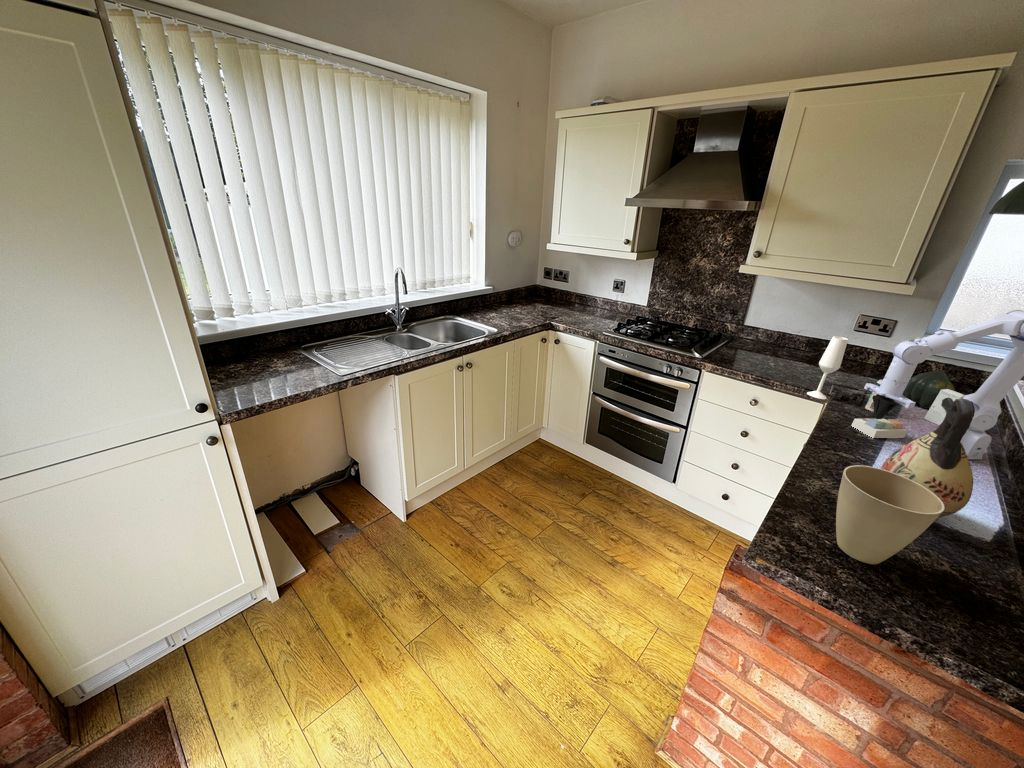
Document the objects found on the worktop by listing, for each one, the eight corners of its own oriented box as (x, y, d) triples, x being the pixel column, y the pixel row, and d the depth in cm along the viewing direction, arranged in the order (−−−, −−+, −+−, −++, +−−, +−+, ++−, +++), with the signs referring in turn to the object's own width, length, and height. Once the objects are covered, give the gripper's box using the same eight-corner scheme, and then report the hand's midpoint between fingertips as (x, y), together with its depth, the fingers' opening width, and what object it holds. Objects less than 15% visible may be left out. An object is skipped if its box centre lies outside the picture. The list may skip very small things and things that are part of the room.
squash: (911, 395, 158) (955, 372, 152) (887, 382, 172) (927, 360, 166) (931, 422, 159) (976, 400, 153) (906, 407, 173) (947, 386, 167)
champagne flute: (806, 390, 169) (828, 334, 159) (825, 395, 166) (850, 338, 156) (807, 395, 163) (830, 337, 154) (827, 400, 160) (852, 341, 151)
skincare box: (923, 418, 151) (939, 389, 147) (930, 418, 153) (947, 388, 148) (943, 427, 146) (960, 396, 141) (951, 426, 147) (968, 395, 143)
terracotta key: (901, 430, 135) (904, 423, 134) (893, 430, 135) (896, 423, 134) (892, 425, 138) (895, 419, 137) (884, 425, 137) (887, 419, 137)
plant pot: (861, 525, 92) (893, 466, 86) (925, 581, 78) (968, 515, 72) (798, 523, 91) (826, 462, 85) (851, 578, 78) (888, 512, 71)
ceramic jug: (867, 481, 109) (920, 377, 97) (945, 509, 101) (1015, 399, 89) (866, 512, 97) (928, 398, 85) (956, 547, 88) (1039, 425, 76)
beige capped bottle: (883, 414, 152) (897, 384, 147) (868, 412, 153) (883, 382, 148) (875, 409, 156) (889, 380, 152) (861, 406, 157) (875, 378, 152)
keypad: (903, 438, 135) (908, 429, 134) (872, 438, 133) (877, 429, 132) (880, 426, 142) (884, 417, 141) (850, 426, 140) (855, 417, 139)
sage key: (890, 430, 135) (894, 423, 134) (883, 430, 134) (886, 423, 133) (882, 425, 137) (885, 419, 136) (874, 425, 137) (877, 419, 136)
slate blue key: (880, 430, 134) (883, 423, 133) (872, 430, 133) (876, 423, 132) (872, 425, 137) (875, 419, 136) (864, 425, 136) (867, 419, 135)
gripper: (864, 370, 134) (847, 407, 140) (909, 389, 121) (888, 429, 126) (882, 371, 135) (864, 408, 141) (928, 389, 122) (907, 429, 128)
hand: (877, 418), depth 134 cm, fingers closed
